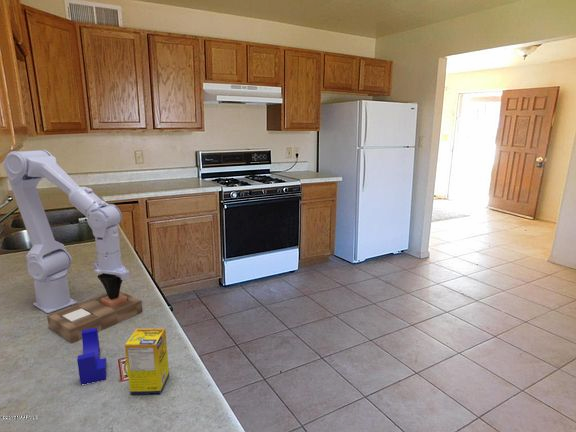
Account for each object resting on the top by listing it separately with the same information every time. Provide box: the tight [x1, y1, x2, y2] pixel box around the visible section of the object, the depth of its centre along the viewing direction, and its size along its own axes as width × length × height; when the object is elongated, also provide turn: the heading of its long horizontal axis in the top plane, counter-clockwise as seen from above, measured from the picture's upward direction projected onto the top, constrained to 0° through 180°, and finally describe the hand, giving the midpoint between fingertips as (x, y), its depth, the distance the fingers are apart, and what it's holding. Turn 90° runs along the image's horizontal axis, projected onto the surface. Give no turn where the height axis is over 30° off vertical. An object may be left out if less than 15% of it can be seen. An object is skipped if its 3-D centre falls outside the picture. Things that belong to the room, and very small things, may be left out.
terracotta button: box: [101, 294, 127, 307], centre depth 103 cm, size 5×5×4 cm
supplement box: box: [124, 327, 170, 395], centre depth 73 cm, size 6×6×11 cm
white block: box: [62, 309, 91, 323], centre depth 95 cm, size 5×5×4 cm
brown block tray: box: [46, 290, 143, 344], centre depth 99 cm, size 12×19×4 cm, turn 145°
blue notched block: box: [76, 328, 108, 386], centre depth 80 cm, size 12×4×6 cm, turn 24°
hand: (113, 297), depth 102 cm, fingers closed, pressing on terracotta button
